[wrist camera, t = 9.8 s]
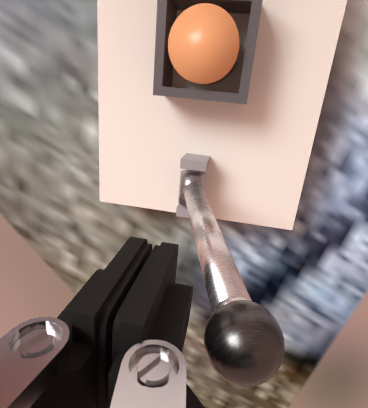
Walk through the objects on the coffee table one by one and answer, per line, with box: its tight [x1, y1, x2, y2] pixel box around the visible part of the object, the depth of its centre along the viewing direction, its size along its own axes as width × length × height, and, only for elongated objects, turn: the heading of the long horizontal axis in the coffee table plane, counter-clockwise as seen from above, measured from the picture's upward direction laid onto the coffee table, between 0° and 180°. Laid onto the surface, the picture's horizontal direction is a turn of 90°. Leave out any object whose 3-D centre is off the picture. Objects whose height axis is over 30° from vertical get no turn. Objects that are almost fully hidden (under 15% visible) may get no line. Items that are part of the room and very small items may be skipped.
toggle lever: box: [178, 170, 284, 387], centre depth 13 cm, size 2×2×14 cm
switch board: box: [97, 0, 347, 230], centre depth 18 cm, size 14×21×6 cm, turn 175°
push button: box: [168, 3, 240, 85], centre depth 16 cm, size 4×4×2 cm
